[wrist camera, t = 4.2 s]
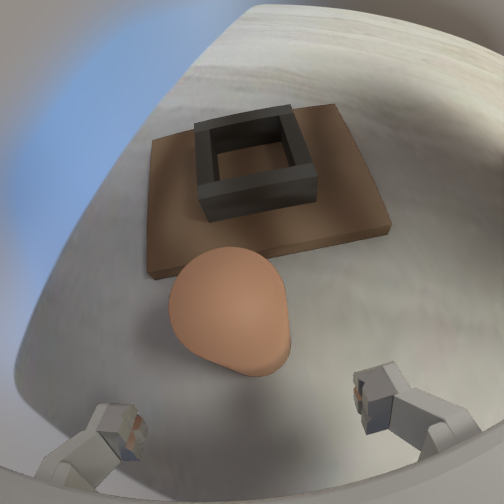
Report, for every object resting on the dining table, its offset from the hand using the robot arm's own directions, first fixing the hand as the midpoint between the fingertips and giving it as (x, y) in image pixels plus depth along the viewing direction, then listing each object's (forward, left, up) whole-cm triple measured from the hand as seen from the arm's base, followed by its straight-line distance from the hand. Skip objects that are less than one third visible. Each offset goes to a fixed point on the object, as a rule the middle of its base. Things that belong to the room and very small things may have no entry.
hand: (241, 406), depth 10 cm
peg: (0, -4, -9) cm, 10 cm away
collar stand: (-2, -17, -9) cm, 19 cm away
